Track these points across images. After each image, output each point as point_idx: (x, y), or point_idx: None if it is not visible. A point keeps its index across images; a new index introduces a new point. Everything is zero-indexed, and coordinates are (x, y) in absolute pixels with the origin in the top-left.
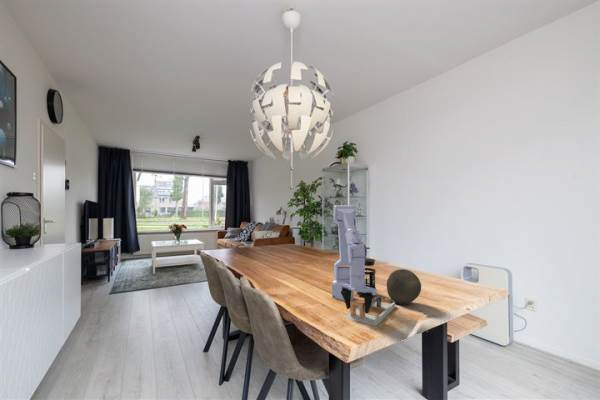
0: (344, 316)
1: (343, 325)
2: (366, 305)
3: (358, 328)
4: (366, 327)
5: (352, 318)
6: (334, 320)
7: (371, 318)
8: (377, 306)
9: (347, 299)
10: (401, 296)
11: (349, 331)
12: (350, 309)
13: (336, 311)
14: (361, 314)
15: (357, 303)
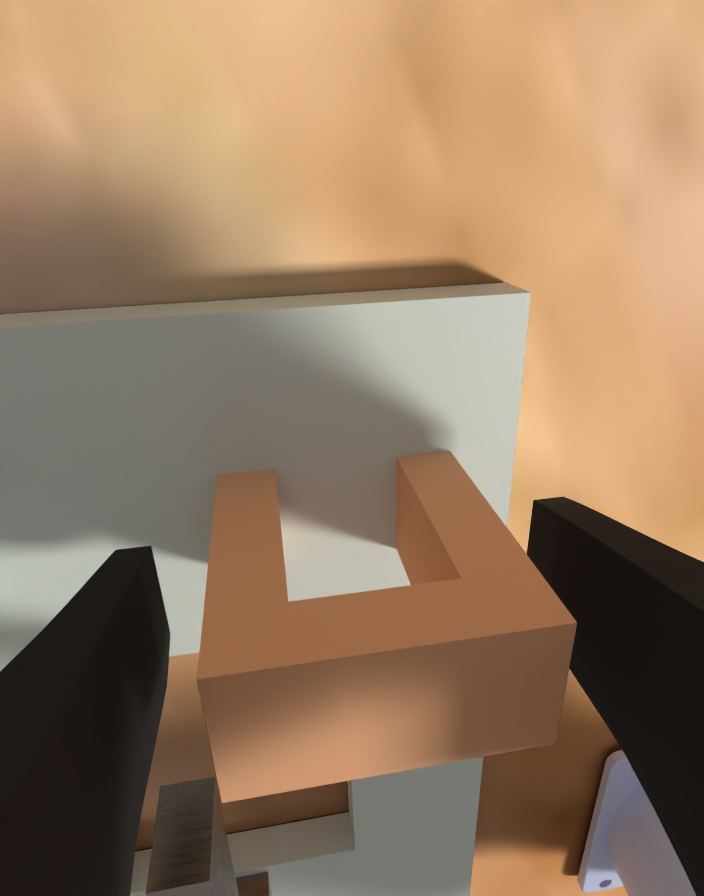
0: (520, 338)
1: (415, 76)
2: (35, 668)
3: (113, 139)
4: (29, 284)
5: (360, 353)
6: (636, 183)
7: (96, 561)
8: (255, 886)
9: (680, 630)
10: None
11: None
12: (487, 503)
13: (701, 503)
14: (238, 506)
15: (355, 640)
